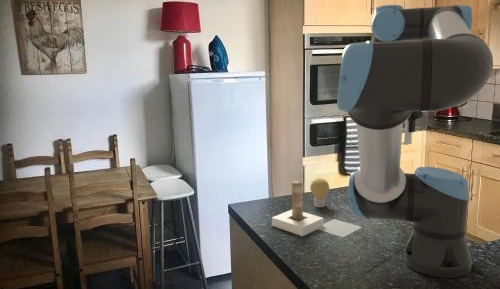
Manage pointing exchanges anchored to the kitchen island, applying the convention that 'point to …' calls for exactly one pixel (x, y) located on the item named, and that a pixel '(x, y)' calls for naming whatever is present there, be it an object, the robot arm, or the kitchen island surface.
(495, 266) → the kitchen island surface
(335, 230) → the mat
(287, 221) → the hole block
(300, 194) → the dowel
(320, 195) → the light bulb
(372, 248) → the kitchen island surface
